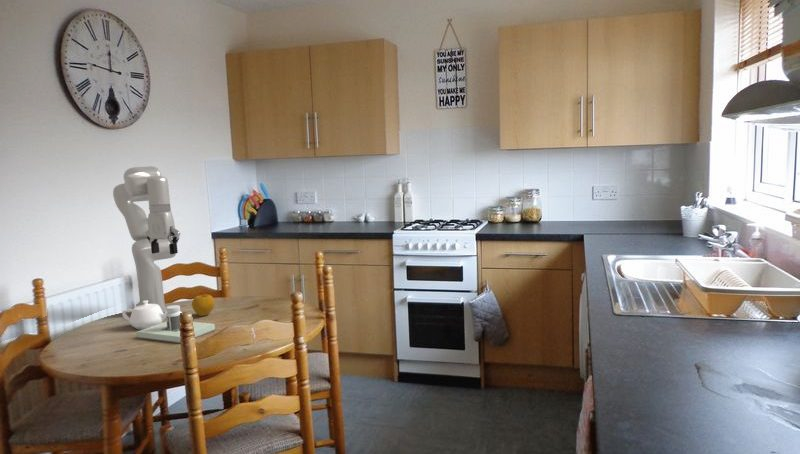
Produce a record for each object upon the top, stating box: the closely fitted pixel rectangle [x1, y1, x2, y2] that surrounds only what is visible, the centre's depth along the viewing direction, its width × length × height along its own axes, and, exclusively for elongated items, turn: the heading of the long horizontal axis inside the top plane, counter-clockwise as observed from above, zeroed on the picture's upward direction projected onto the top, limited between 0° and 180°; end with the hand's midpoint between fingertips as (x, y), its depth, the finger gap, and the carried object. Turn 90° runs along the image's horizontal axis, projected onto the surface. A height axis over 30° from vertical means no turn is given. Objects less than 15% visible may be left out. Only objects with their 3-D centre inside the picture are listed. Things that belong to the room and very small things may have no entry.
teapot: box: [121, 300, 172, 330], centre depth 224 cm, size 20×12×10 cm, turn 88°
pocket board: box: [136, 321, 216, 344], centre depth 212 cm, size 22×16×2 cm
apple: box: [191, 294, 216, 317], centre depth 236 cm, size 9×9×9 cm
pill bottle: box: [165, 304, 183, 332], centre depth 211 cm, size 6×6×10 cm
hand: (164, 253), depth 222 cm, fingers open, 9 cm apart
